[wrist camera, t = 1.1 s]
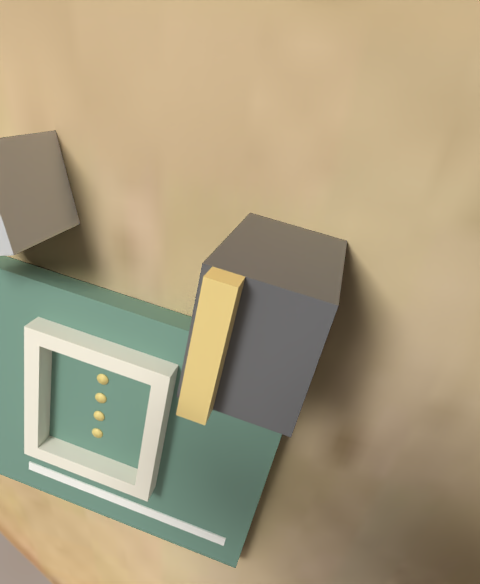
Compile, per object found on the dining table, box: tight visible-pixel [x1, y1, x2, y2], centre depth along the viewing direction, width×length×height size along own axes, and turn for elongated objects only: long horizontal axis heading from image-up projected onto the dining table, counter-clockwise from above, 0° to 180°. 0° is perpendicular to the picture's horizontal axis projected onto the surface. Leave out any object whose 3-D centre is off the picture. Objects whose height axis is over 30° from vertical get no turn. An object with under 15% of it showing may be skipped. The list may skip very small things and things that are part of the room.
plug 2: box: [176, 213, 347, 437], centre depth 16 cm, size 4×5×7 cm
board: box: [0, 256, 282, 568], centre depth 23 cm, size 16×14×2 cm
